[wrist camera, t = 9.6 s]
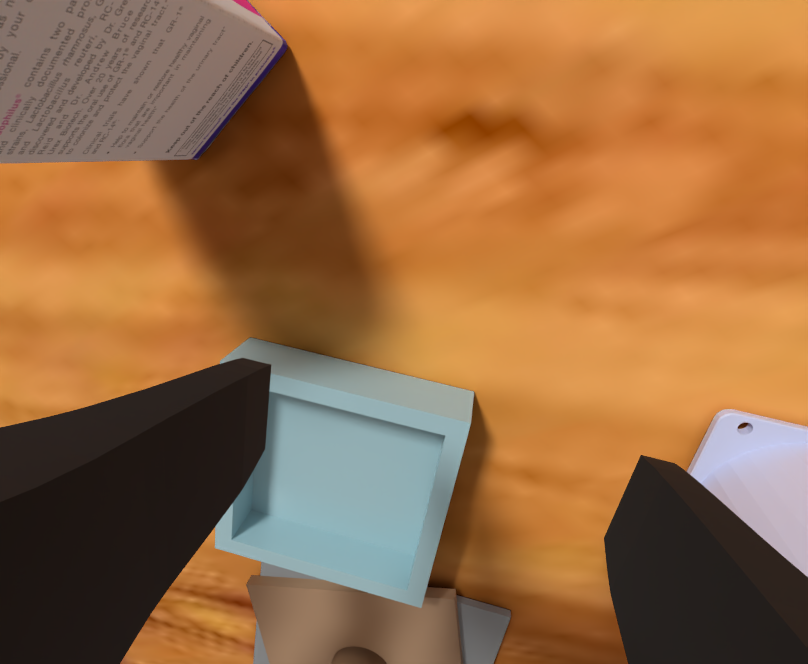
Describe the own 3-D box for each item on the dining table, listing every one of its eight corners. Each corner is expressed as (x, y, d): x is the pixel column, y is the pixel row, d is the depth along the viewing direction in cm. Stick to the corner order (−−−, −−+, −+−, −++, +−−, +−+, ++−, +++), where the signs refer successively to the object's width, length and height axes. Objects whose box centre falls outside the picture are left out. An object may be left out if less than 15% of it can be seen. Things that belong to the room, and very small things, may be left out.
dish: (474, 391, 20) (471, 423, 18) (428, 564, 24) (421, 607, 22) (250, 337, 22) (220, 360, 19) (240, 511, 25) (214, 548, 23)
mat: (510, 610, 25) (510, 617, 24) (455, 757, 30) (454, 765, 29) (266, 540, 26) (262, 546, 25) (253, 693, 31) (250, 699, 30)
